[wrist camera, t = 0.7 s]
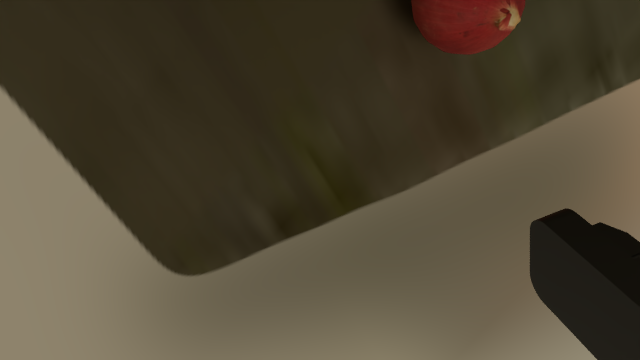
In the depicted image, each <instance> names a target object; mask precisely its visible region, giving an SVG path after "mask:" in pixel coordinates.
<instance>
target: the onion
mask: <svg viewBox="0 0 640 360" xmlns="http://www.w3.org/2000/svg"><path fill="white" fill-rule="evenodd" d="M411 3H412V11H413V19H414V22H415V23H416V25H417V27H418V29H419V30H420V32H421V34H422V36H423V37H424V38H425V39H426V40H427V41H428V42H430V43H431V44H433V45H434V46H436V47H437V48H439V49H440V50H442V51H444V52H448V53H453V54H468V55H469V54H475V53H478V52H481V51H484V50H487V49H490V48H492V47H494V46H496V45H497V44H498V43H499V42H501V41H502V40H503V39H504V38H506V37H507V36H508V35H509V34H510V33H511V31H512V30H513V29H514V28H515V27H516V25H517V24H518V23H519V22H520V21H521V19H520V18H521V16H522V13H523V10H524V7H525V0H411Z"/></svg>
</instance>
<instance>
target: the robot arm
mask: <svg viewBox="0 0 640 360" xmlns="http://www.w3.org/2000/svg"><path fill="white" fill-rule="evenodd" d="M530 277H531V281H532V284H533V287H534V289H535V291H536V293H537V294H538V296H539V297H540V299H541V300H542V301H543V302H544V304H545V305H546V306H547V307H548V308H549V309H550V310H551V311H552V312H553V313H554V314H555V315H556V316H557V317H558V318H559V319H560V320H561V322H562V323H563V324H564V325H565V326H566V327H567V328H568V329H569V330H570V331H571V332H572V333H573V334H574V335H575V336H576V337H577V339H579V341H580V342H581V343H582V344H583V345H584V346H585V347H586V348H587V349H588V350H589V351H590V352H591V353H592V354H593V355H594V357H595V358H596V359H597V360H640V242H639V241H637V240H636V239H635V238H633V237H632V236H631V235H629V234H628V233H626V232H624V231H621V230H619V229H616V228H614V227H611V226H608V225H606V224H603V223H597V224H595V225H591V224H590V223H588V222H587V221H586V220H585V219H583V218H582V217H581V216H580V215H578V214H577V213H576V212H574V211H573V210H571V209H563V210H560V211H558V212H555V213H553V214H550V215H547V216H545V217H543V218H540V219H537V220H535V221H533V222H532V223H531V226H530Z"/></svg>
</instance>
